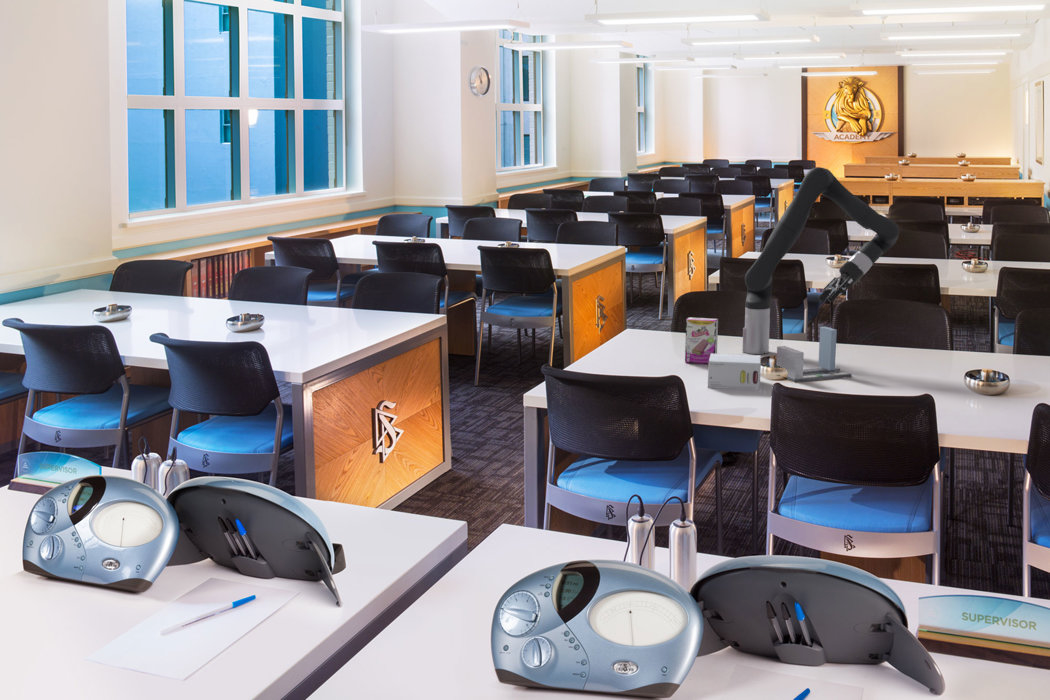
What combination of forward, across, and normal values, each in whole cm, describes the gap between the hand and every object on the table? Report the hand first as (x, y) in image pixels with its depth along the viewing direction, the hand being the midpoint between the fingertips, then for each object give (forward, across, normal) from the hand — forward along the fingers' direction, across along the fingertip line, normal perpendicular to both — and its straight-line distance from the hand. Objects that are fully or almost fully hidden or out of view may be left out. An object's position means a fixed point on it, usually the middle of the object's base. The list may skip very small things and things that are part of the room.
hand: (824, 300), depth 359 cm
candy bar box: (+44, -17, -12) cm, 49 cm away
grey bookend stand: (+24, +10, +13) cm, 29 cm away
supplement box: (+46, +17, -7) cm, 50 cm away
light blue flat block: (+18, +9, +16) cm, 26 cm away
